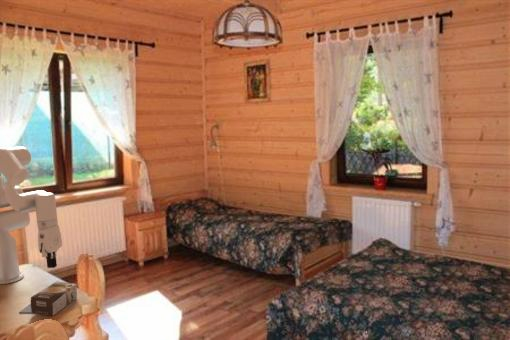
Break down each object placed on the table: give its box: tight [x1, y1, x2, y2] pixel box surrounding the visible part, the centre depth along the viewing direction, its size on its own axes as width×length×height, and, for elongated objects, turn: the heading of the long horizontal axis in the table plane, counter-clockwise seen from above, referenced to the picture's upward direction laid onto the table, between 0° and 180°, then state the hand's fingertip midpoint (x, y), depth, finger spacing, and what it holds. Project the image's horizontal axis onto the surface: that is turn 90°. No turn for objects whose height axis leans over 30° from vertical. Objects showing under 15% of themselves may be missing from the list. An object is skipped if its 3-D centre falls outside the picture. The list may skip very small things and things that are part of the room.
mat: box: [18, 303, 32, 314], centre depth 176 cm, size 12×13×1 cm
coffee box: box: [30, 281, 78, 317], centre depth 174 cm, size 9×6×16 cm
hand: (52, 267), depth 184 cm, fingers closed
